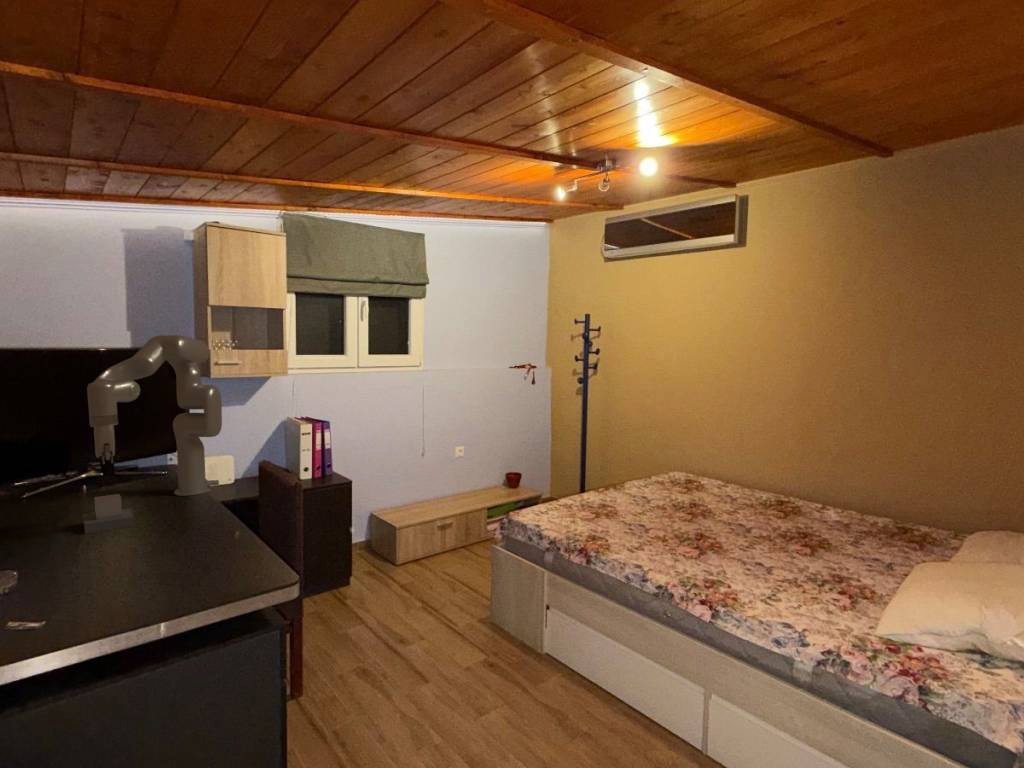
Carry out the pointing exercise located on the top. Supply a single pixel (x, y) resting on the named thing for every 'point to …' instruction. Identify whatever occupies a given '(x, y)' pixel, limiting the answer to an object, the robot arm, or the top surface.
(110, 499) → the grey cube
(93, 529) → the grey block
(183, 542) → the top surface
